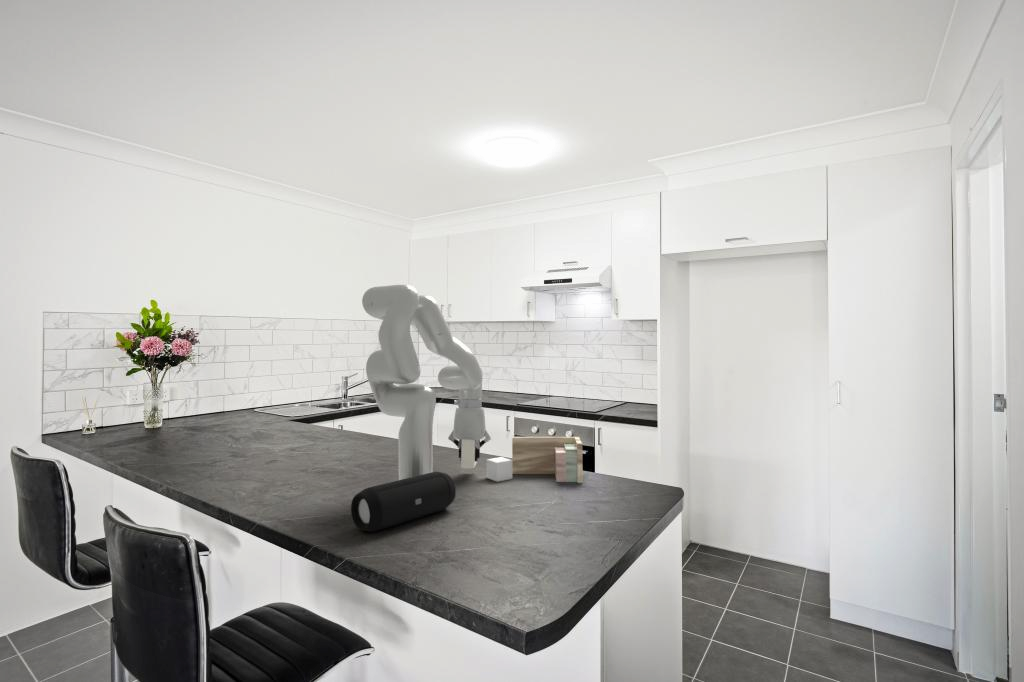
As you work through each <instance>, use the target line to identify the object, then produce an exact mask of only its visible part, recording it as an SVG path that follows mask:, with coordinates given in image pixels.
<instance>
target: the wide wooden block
mask: <svg viewBox="0 0 1024 682" xmlns="http://www.w3.org/2000/svg"><path fill="white" fill-rule="evenodd" d="M511 438H512V439H511V440H512V442H511V443H512V444H511V445H512V446H511V447H512V449H511V451H512V455H511V456H512V459H511V460H512V475H554V476H555V482H556V483H578V484H583V481H584V480H583V479H584V477H583V475H584V474H583V469H584V468H583V442H582V441H581V439H580V436H512V437H511Z"/></svg>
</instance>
